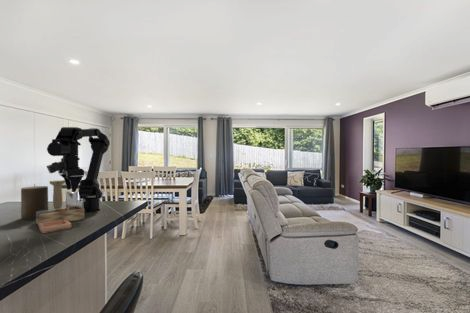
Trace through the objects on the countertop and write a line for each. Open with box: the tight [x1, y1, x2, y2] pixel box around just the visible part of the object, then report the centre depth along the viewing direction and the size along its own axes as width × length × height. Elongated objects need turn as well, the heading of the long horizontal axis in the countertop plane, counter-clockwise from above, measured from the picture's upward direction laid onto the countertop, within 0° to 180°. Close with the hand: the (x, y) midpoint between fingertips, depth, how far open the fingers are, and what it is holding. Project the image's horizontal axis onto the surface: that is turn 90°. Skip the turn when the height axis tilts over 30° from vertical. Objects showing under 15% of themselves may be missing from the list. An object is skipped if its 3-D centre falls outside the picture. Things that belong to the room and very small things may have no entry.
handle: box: [49, 179, 65, 209], centre depth 127 cm, size 5×6×15 cm
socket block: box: [35, 205, 85, 226], centre depth 109 cm, size 16×8×4 cm, turn 135°
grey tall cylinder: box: [65, 191, 78, 211], centre depth 112 cm, size 4×4×9 cm
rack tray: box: [38, 219, 72, 234], centre depth 99 cm, size 9×9×2 cm
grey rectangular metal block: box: [36, 208, 55, 219], centre depth 105 cm, size 6×3×2 cm, turn 135°
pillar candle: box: [20, 184, 49, 221], centre depth 115 cm, size 10×10×15 cm
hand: (71, 190), depth 112 cm, fingers open, 9 cm apart
